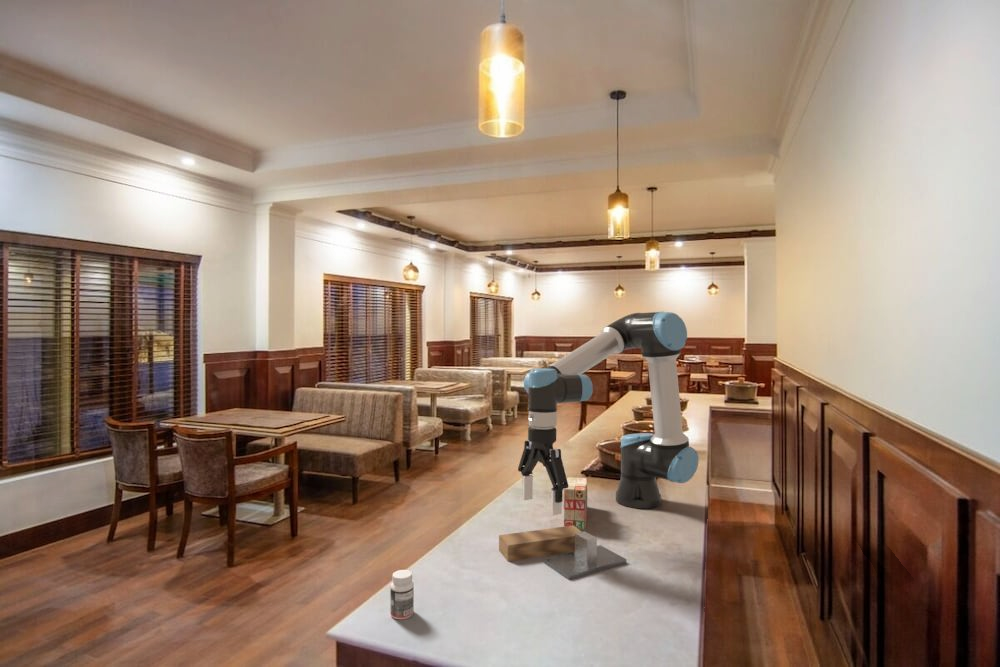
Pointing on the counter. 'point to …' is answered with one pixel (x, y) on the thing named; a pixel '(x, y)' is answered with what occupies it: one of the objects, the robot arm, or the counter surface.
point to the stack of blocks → (575, 503)
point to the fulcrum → (584, 558)
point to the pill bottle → (402, 594)
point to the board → (538, 543)
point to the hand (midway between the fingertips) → (541, 506)
